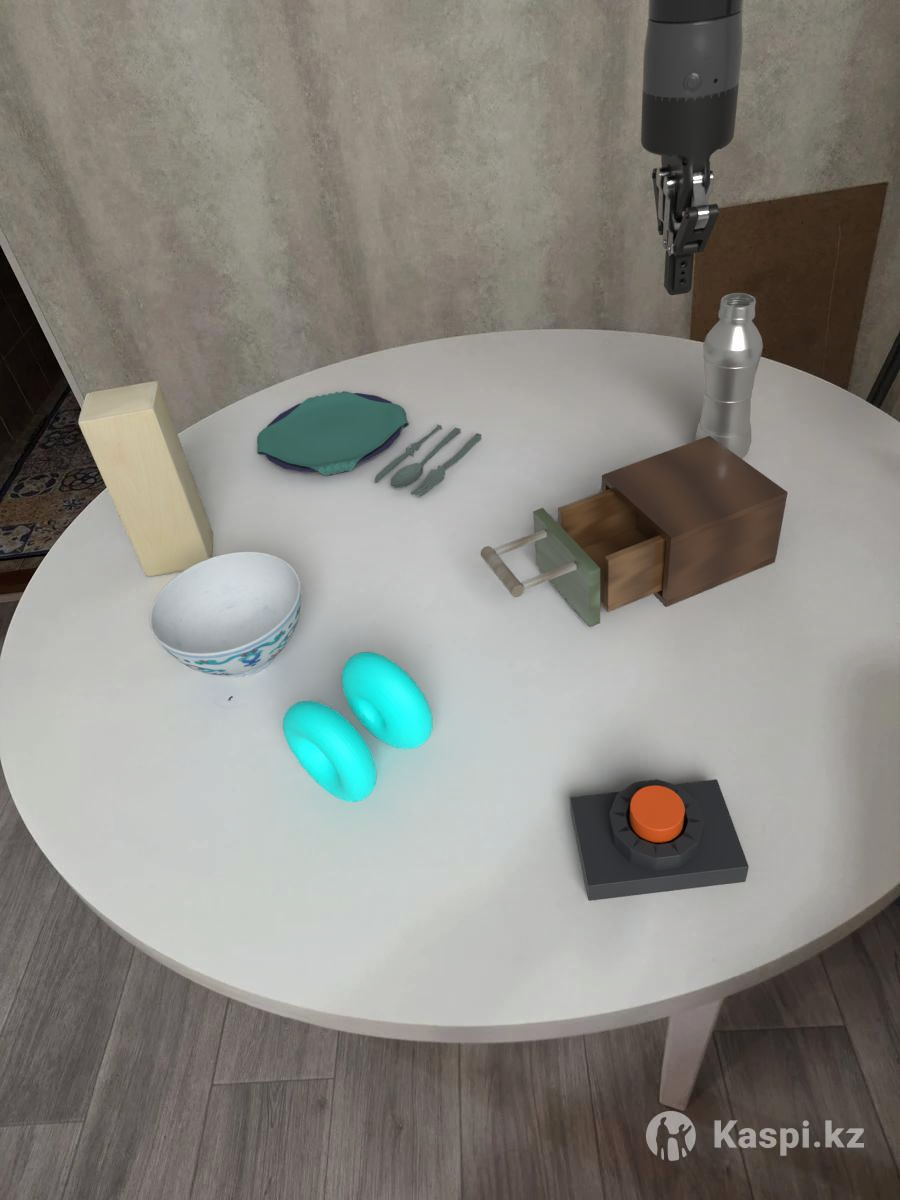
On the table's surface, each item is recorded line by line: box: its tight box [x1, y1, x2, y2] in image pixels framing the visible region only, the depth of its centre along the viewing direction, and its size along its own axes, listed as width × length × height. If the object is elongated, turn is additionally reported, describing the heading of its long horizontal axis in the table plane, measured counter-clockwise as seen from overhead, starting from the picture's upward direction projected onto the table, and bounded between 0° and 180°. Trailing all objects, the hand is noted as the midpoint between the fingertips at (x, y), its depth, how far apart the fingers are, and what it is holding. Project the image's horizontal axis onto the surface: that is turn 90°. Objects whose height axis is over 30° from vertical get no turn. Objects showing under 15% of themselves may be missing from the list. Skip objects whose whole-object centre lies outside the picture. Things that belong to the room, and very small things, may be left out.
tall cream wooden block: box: [77, 380, 214, 578], centre depth 98 cm, size 8×7×21 cm
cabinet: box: [601, 436, 789, 608], centre depth 91 cm, size 14×13×9 cm
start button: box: [630, 785, 685, 843], centre depth 66 cm, size 4×4×2 cm
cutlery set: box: [256, 390, 482, 498], centre depth 117 cm, size 20×30×2 cm, turn 55°
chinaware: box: [149, 551, 302, 678], centre depth 88 cm, size 15×15×8 cm
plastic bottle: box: [694, 292, 764, 460], centre depth 100 cm, size 6×7×20 cm
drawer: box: [479, 489, 666, 628], centre depth 88 cm, size 20×11×7 cm, turn 114°
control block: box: [569, 778, 750, 902], centre depth 67 cm, size 12×8×4 cm, turn 94°
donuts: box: [282, 651, 434, 803], centre depth 75 cm, size 10×10×10 cm
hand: (677, 290), depth 81 cm, fingers closed
